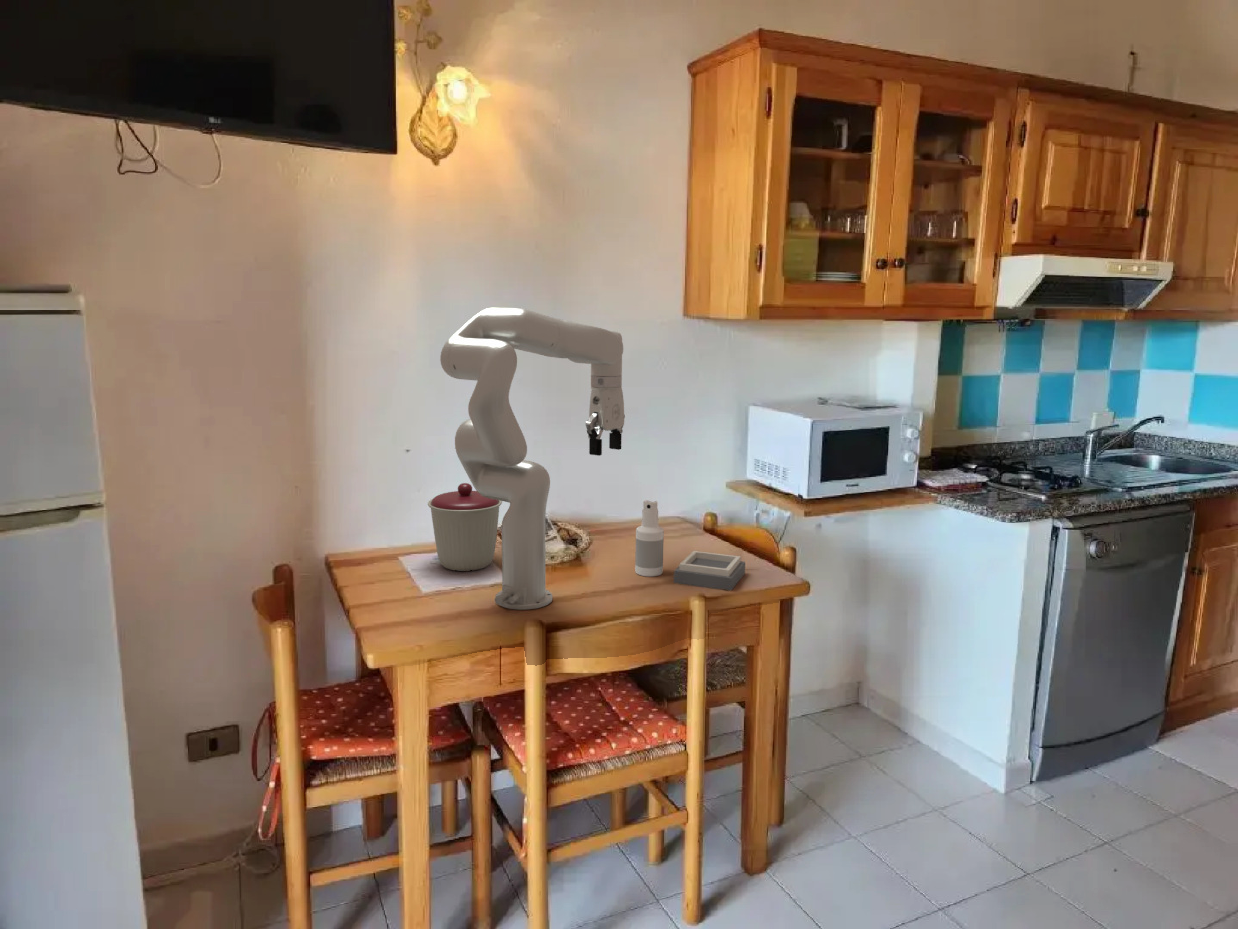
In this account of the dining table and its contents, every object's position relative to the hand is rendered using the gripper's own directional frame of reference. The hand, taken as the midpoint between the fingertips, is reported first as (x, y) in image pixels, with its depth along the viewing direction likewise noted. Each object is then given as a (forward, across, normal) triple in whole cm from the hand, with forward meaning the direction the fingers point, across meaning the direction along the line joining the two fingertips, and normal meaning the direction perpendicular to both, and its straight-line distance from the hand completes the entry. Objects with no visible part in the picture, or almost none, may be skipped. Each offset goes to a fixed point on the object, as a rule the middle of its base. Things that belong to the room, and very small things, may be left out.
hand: (605, 451), depth 210 cm
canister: (+29, -19, +29) cm, 45 cm away
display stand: (+29, +4, -27) cm, 40 cm away
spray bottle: (+29, 0, -12) cm, 32 cm away
